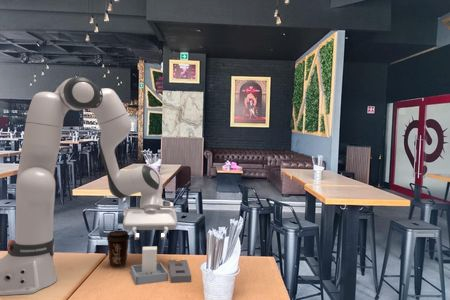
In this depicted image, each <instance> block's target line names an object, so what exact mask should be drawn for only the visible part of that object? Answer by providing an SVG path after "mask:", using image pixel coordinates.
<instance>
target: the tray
mask: <svg viewBox="0 0 450 300" xmlns="http://www.w3.org/2000/svg"><path fill="white" fill-rule="evenodd" d="M130 274H131V276H132V277H131V278H133V279H132V280H133V281H134V283H135V286H137V285H146V284H153V283H161V282H168V281H169V272H168V270H167V269H166V267H165V266H164V265H163V263H162V262H161V261H160V262H157V265H156V272H152V274H151V272H147V275H146V272H142V263H141V264H134V265H130ZM150 274H151V275H150Z"/></svg>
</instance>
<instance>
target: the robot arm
mask: <svg viewBox="0 0 450 300" xmlns="http://www.w3.org/2000/svg"><path fill="white" fill-rule="evenodd" d="M83 110H89V111H90V112H91V113H92V115H94V116H95V117H94V118H95V120H96V122H97V124H98V126H99V128H100V129H99V130H100V136H99V138H98V140H97V141H98V142H97V143H98V144H97V145H98V150H99V153H100V156H101V161H102V163H103V166H104V171H105V173H106V177H107V182H108V188H109V192H110V193H111V194H112V196H114V197H115V198H118V199H125V198H127V197H130V196H132V195H136V194H138V193H140V196H141V197H140V199H139V206H128V207H126V208H124V209H123V211H122V216H123V221H122V227H123V230H124V231H131V232H132V234H133V235H134V241H137V240H138V241H139V240H140V233H138V232H137V231H151V230H152V231H153V230H154V231H155V230H156V231H158V230H160V231H161V230H162V231H163V232H162V233H161V232H160V233H161V234H160V240H165V239H166V235H167V233H168V231H172V230H176V228H178V215H177V212H176V210H175V209H174V207H175V205H174V202H172V201H169V200H165V199H163V197H162V195H163V190H164V189H163V179H162V176H161V174H160V173H159V172H158V171H157V170H156V169H154V168H153V167H151V166H149V165H146V164H144V165H141V166H137V167H134V168H132V169H128V170H125V171H121V170H120V168H119V164H118V161H117V157H116V154H115V150H116V147H117V146H118V145H119V144H121V143H122V142H123V141H124V140H125V139H126V138H127V137H128V136H129V135H130V134H131V133H130V132H131V129H132V121H131V119H130V115H129V114H128V111H127V109H126V108H125V105H124V104H123V102H122V100H121V99H120V97H119V95H118V94H117V92H116V91H115V90H114V89H112V88H108V87H107V88H105V87H104V88H100V87H99V86H98V85H97V84H95V83H94V82H93V81H92V80H90V79H88V78H86V77H84V76H83V77H82V76H75V77H70V78H67V79H65V80H64V81H63V82H61V83H60V84H59V85H57V87H56V88H55V89H54V90H53V92H52V91H39V92H38V93H36V94H34V96H33V97H32V99H31V101H30V105H29V108H28V110H27V115H26V119H25V126H24V132H23V138H22V139H23V140H22V144H21V150H20V157H19V162H18V168H17V169H18V170H17V175H16V176H17V177H16V183H15V231H14V236H15V238H14V239H11V240H9V241H8V243H7V253H6V255H5V256H3V257H1V258H0V296H6V295H7V296H9V295H13V296H14V295H25V294H27V295H30V294H34V293H36V292H38V291H39V290H41V289H44V288H47V287H50V286H52V285H53V284H54V283H56V281H58V276H57V273H56V269H55V262H54V255H55V239H54V237H53V236H54V213H55V212H54V211H55V201H56V179H55V176H54V175H55V170H56V165H57V160H58V156H59V154H60V152H59V151H60V146H61V141H62V133H63V126H64V118H65V117H66V114H67V113H68V112H69V111H83Z"/></svg>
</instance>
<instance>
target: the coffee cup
mask: <svg viewBox="0 0 450 300" xmlns="http://www.w3.org/2000/svg"><path fill="white" fill-rule="evenodd" d="M129 240H130V235H129V232H128V230H124V229H123V230H121V229H119V230H112V231H109V233H108V234H107V236H106V241H107V244H108V245H107V251H108V252H107V253H108V259H109V261H108V262H109V263H108V267H109V269H113V270H121V269H123V268H125V267H126V266H127V258H128V251H129Z"/></svg>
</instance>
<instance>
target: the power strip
mask: <svg viewBox="0 0 450 300" xmlns="http://www.w3.org/2000/svg"><path fill="white" fill-rule="evenodd" d="M168 271H169V272H168V274H169V279H170V284H175V283H176V284H178V283H191V282H192V273H191V269H190V266H189V262H188V260H187V259H181V258H175V259H174V260H171V259H170V260H168Z"/></svg>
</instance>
